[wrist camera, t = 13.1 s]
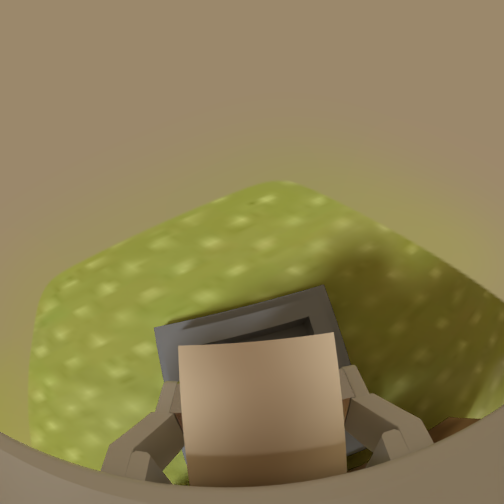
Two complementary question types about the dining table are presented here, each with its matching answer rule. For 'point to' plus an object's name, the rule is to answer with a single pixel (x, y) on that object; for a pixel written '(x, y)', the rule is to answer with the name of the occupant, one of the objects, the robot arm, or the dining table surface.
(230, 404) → the block
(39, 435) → the dining table surface
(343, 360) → the seat block
